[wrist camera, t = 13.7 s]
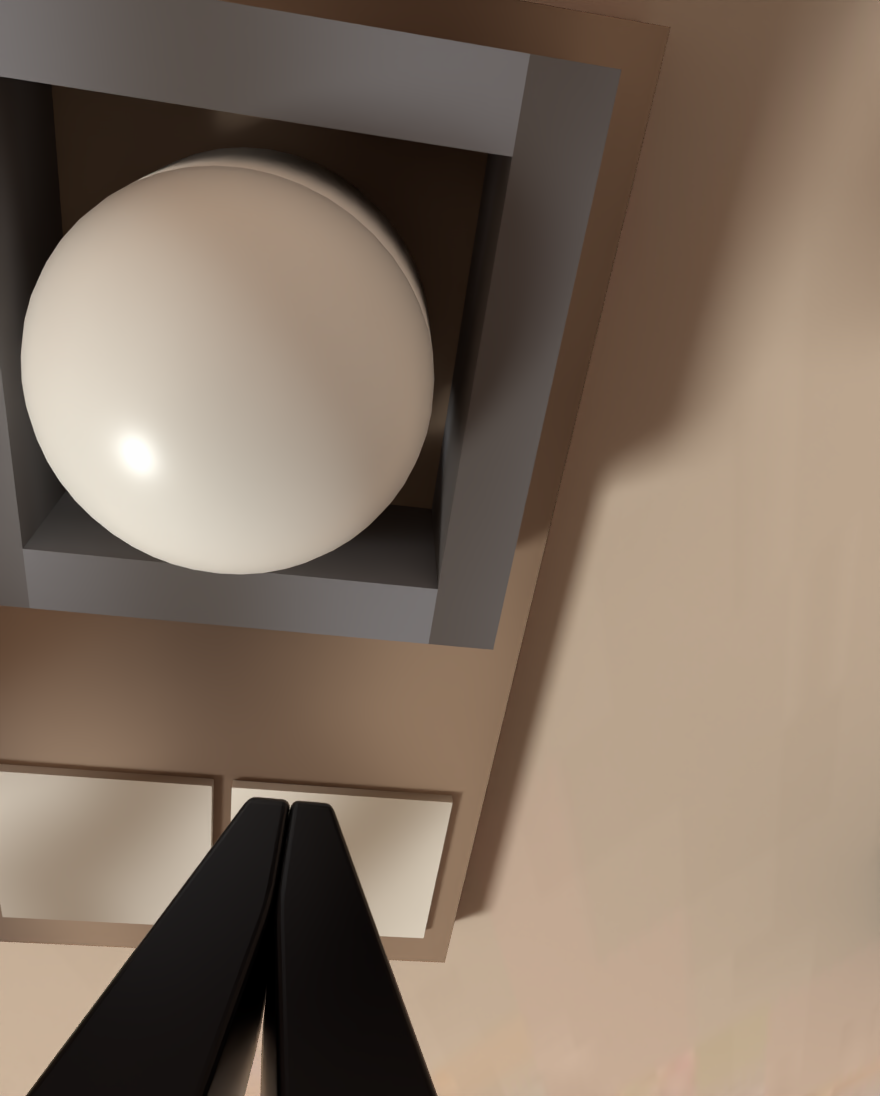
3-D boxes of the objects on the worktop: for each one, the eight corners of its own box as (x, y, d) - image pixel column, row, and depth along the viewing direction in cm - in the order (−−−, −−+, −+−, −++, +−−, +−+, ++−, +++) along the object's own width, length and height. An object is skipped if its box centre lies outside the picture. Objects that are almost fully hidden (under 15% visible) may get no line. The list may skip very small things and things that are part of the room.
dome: (450, 172, 11) (481, 242, 7) (406, 487, 14) (410, 672, 10) (85, 117, 11) (-104, 158, 7) (105, 453, 13) (-26, 635, 9)
